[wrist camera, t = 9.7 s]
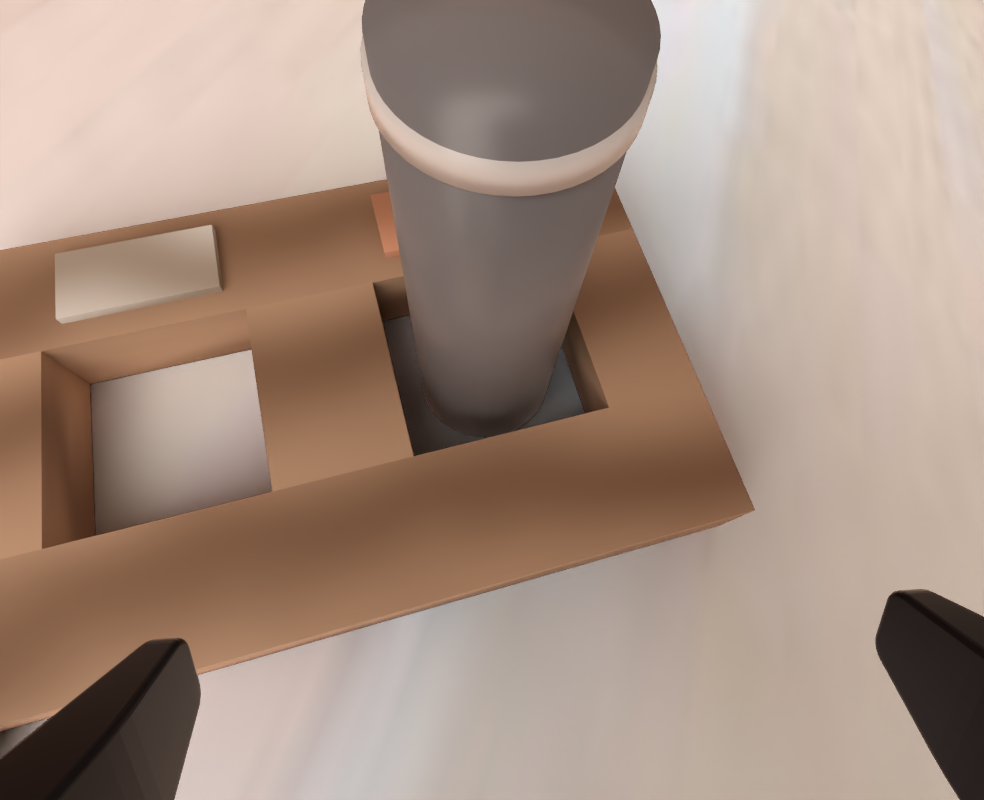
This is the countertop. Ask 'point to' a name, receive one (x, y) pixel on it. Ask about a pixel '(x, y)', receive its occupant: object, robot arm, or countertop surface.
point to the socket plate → (314, 444)
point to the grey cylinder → (501, 178)
